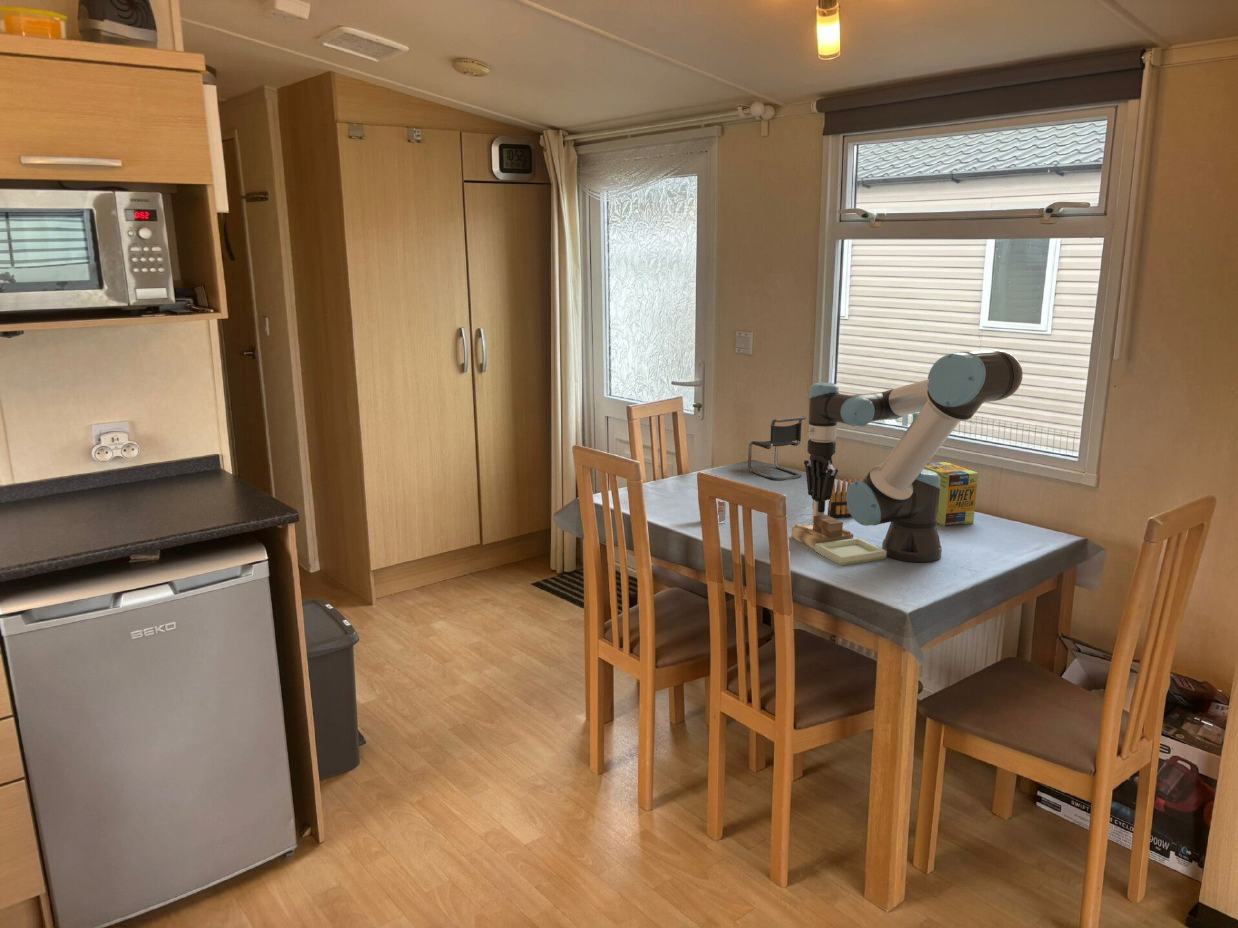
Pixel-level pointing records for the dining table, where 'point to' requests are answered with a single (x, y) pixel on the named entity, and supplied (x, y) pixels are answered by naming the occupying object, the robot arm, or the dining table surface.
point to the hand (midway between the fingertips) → (818, 522)
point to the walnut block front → (832, 528)
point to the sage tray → (850, 551)
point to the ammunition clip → (839, 501)
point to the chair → (780, 444)
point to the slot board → (815, 535)
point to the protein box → (955, 493)
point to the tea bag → (721, 511)
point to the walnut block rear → (819, 522)
